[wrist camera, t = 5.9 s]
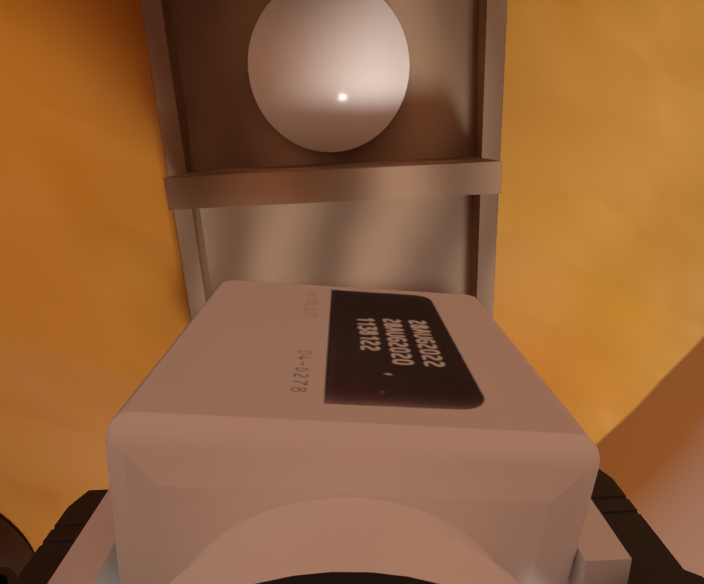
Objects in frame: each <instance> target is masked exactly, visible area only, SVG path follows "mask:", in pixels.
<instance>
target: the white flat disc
mask: <svg viewBox="0 0 704 584" xmlns="http://www.w3.org/2000/svg"><path fill="white" fill-rule="evenodd" d="M409 67H410V64H409V52H408V46H407V41H406V38H405V35H404V32H403V29H402V27H401V25H400V23H399V20H398V19H397V17H396V16H395V14H394V12H393V11H392V9H391V8H390V7H389V6H388V4H387V3H386V2H385V1H384V0H271V1H270V3H269V4H268V5H267V6H266V7H265V9H264V10H263V12H262V13H261V15H260V17H259V19H258V21H257V23H256V25H255V27H254V30H253V33H252V36H251V40H250V45H249V51H248V73H249V80H250V85H251V88H252V92H253V95H254V97H255V100H256V102H257V105H258V106H259V108H260V110H261V112H262V113H263V115H264V116H265V118H266V119H267V120H268V122H269V123H270V124H271V125H272V126H273V127H274V128H275V129H276V130H277V131H278V132H279V133H280V134H281V135H283V136H284V137H285V138H287V139H288V140H290V141H291V142H293V143H295V144H297V145H299V146H301V147H304V148H307V149H310V150H314V151H320V152H340V151H346V150H350V149H353V148H356V147H358V146H361V145H363V144H365V143H367V142H368V141H370V140H372V139H373V138H374V137H376V136H377V135H378V134H380V133H381V132H382V131H383V130H384V129H385V128H386V127H387V126H388V124H389V123H390V122H391V120H392V119H393V118H394V116H395V115H396V113H397V111H398V110H399V108H400V105H401V103H402V101H403V99H404V96H405V92H406V89H407V84H408V79H409Z"/></svg>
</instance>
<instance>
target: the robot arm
mask: <svg viewBox="0 0 704 584" xmlns="http://www.w3.org/2000/svg"><path fill="white" fill-rule="evenodd" d="M0 584H120V582H119V572H118V562H117V552H116V542H115V532H114V522H113V512H112V501H111V491H110V488H109V490H90V491H88V492H86V493H85V494H84V495H83V496H81V497H80V498H79V499H78V500H76V501H75V502H74V503H73V504H71V505H70V506H69V507H68V508H67V509H66V511H65V512H64V514H63V515H62V516H61V518H60V519H59V520H58V522H57V523H56V525H55V528H54V530H51V531H50V533H49V534H48V536H47V537H46V538H45V540H44V541H43V545H42V546H40V547H39V548H38V549H37V551H36V552H35V553H34V554H33V552H32V550H31V549H30V547H29V546H28V544H27V543H26V541H25V540H24V539H23V538H22V536H21V535H20V534H19V533H18V532H17V531H16V530H15V529H14V528H13V527H12V526H11V525H10V524H8V523H7V522H6V521H5V520H3V519H2V518H1V517H0ZM567 584H704V578H703V577H702V576H699V575H696V574H694V573H691V572H689V571H686V570H684V569H683V568H682V567H681V565H680V564H679V563H678V562H677V560H676V559H675V558H674V557H673V555H672V554H671V553H670V551H669V550H668V549H667V548H666V547H665V545H664V544H663V542H662V541H661V540H660V539H659V537H658V536H657V535H656V534H655V532H654V531H653V530H652V529H651V527H650V526H649V525H648V523H647V522H646V521H645V520H644V518H643V517H642V516H641V515H640V514H638V512H637V509H636V508H635V507H634V505H633V504H632V503H631V502H630V500H629V499H626V495H625V494H624V493H623V492H622V490H621V489H620V488H619V487H618V485H617V484H616V483H615V481H614V480H613V479H612V478H611V477H610V476H608V475H607V474H605V473H604V472H602V471H601V470H600V469H598V473H597V477H596V480H595V484H594V488H593V491H592V495H591V499H590V502H589V506H588V510H587V513H586V517H585V521H584V524H583V528H582V532H581V535H580V539H579V543H578V546H577V550H576V554H575V557H574V561H573V565H572V568H571V572H570V576H569V579H568V583H567Z"/></svg>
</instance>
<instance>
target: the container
mask: <svg viewBox="0 0 704 584" xmlns="http://www.w3.org/2000/svg"><path fill="white" fill-rule="evenodd" d="M106 451H107V461H108V471H109V481H110V491H111V501H112V512H113V522H114V532H115V542H116V552H117V562H118V572H119V582H120V584H567V583H568V579H569V576H570V572H571V568H572V565H573V561H574V557H575V554H576V550H577V546H578V543H579V539H580V535H581V532H582V528H583V524H584V521H585V517H586V513H587V510H588V506H589V502H590V499H591V495H592V491H593V488H594V484H595V480H596V477H597V473H598V469H599V466H600V456H599V452H598V449H597V446H596V445H595V443H594V442H593V441H592V440H591V439H590V437H589V436H588V435H587V434H586V432H585V431H584V430H583V429H582V428H581V426H580V425H579V424H578V423H577V421H576V420H575V419H574V418H573V416H572V415H571V414H570V413H569V412H568V410H567V409H566V408H565V407H564V405H563V404H562V403H561V402H560V401H559V399H558V398H557V397H556V396H555V394H554V393H553V392H552V391H551V389H550V388H549V387H548V386H547V385H546V383H545V382H544V381H543V380H542V378H541V377H540V376H539V375H538V374H537V372H536V371H535V370H534V369H533V367H532V366H531V365H530V364H529V362H528V361H527V360H526V359H525V358H524V356H523V355H522V354H521V353H520V351H519V350H518V349H517V348H516V347H515V345H514V344H513V343H512V342H511V340H510V339H509V338H508V337H507V335H506V334H505V333H504V332H503V331H502V329H501V328H500V327H499V326H498V324H497V323H496V322H495V321H494V320H493V318H492V317H491V316H490V315H489V313H488V312H487V311H486V310H485V308H484V307H483V306H482V305H481V304H480V302H479V301H478V300H477V299H476V298H475V297H473V296H470V295H464V294H448V293H432V292H416V291H400V290H384V289H367V288H351V287H335V286H319V285H303V284H287V283H271V282H255V281H239V280H230V281H225V282H223V283H222V284H221V285H220V286H219V287H218V288H217V289H216V290H215V292H214V293H213V294H212V295H211V297H210V298H209V299H208V300H207V302H206V303H205V304H204V305H203V307H202V308H201V309H200V310H199V312H198V313H197V314H196V315H195V317H194V318H193V319H192V320H191V322H190V323H189V324H188V325H187V327H186V328H185V329H184V330H183V332H182V333H181V334H180V335H179V337H178V338H177V339H176V340H175V342H174V343H173V344H172V345H171V347H170V348H169V349H168V350H167V352H166V353H165V354H164V355H163V357H162V358H161V359H160V360H159V362H158V363H157V364H156V365H155V367H154V368H153V369H152V370H151V372H150V373H149V374H148V375H147V377H146V378H145V379H144V380H143V382H142V383H141V384H140V385H139V387H138V388H137V389H136V390H135V392H134V393H133V394H132V395H131V397H130V398H129V399H128V400H127V402H126V403H125V404H124V405H123V407H122V408H121V409H120V410H119V412H118V413H117V414H116V415H115V417H114V418H113V419H112V420H111V422H110V425H109V428H108V432H107V436H106Z"/></svg>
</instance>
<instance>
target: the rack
mask: <svg viewBox="0 0 704 584" xmlns="http://www.w3.org/2000/svg"><path fill="white" fill-rule="evenodd" d="M270 1H271V0H140V4H141V10H142V16H143V22H144V28H145V35H146V41H147V47H148V53H149V60H150V66H151V72H152V78H153V85H154V91H155V97H156V103H157V109H158V116H159V122H160V128H161V134H162V141H163V147H164V153H165V159H166V165H167V172H168V177H166V178H164V182H165V188H166V194H167V201H168V207H169V210H174V215H175V221H176V228H177V234H178V240H179V246H180V253H181V259H182V265H183V271H184V278H185V284H186V290H187V296H188V302H189V309H190V315H191V320H192V319H193V318H194V317H195V315H196V314H197V313H198V312H199V310H200V309H201V308H202V307H203V305H204V304H205V303H206V302H207V300H208V299H209V298H210V297H211V295H212V294H213V293H214V292H215V290H216V289H217V288H218V287H219V286H220V285H221V284H222V283H223V282H225V281H230V280H239V281H255V282H271V283H287V284H303V285H319V286H335V287H351V288H367V289H384V290H400V291H416V292H432V293H448V294H464V295H470V296H473V297H475V298H476V299H477V300H478V301H479V302H480V304H481V305H482V306H483V307H484V308H485V310H486V311H487V312H488V313H489V315H490V316H491V317H492V318H493V300H494V279H495V257H496V236H497V214H498V193H501V172H502V161H500V149H501V128H502V106H503V85H504V63H505V42H506V20H507V0H384V1H385V2H386V3H387V4H388V6H389V7H390V8H391V9H392V11H393V12H394V14H395V16H396V17H397V19H398V20H399V23H400V25H401V27H402V29H403V32H404V35H405V38H406V41H407V46H408V52H409V64H410V67H409V79H408V84H407V89H406V92H405V96H404V99H403V101H402V103H401V105H400V108H399V110H398V111H397V113H396V115H395V116H394V118H393V119H392V120H391V122H390V123H389V124H388V126H387V127H386V128H385V129H384V130H383V131H382V132H381V133H380V134H378V135H377V136H376V137H374V138H373V139H372V140H370V141H368V142H367V143H365V144H363V145H361V146H358V147H356V148H353V149H350V150H346V151H340V152H320V151H314V150H310V149H307V148H304V147H301V146H299V145H297V144H295V143H293V142H291V141H290V140H288V139H287V138H285V137H284V136H283V135H281V134H280V133H279V132H278V131H277V130H276V129H275V128H274V127H273V126H272V125H271V124H270V123H269V122H268V120H267V119H266V118H265V116H264V115H263V113H262V112H261V110H260V108H259V106H258V105H257V102H256V100H255V97H254V95H253V92H252V88H251V85H250V80H249V73H248V51H249V45H250V40H251V36H252V33H253V30H254V27H255V25H256V23H257V21H258V19H259V17H260V15H261V13H262V12H263V10H264V9H265V7H266V6H267V5H268V4H269V3H270Z"/></svg>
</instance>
